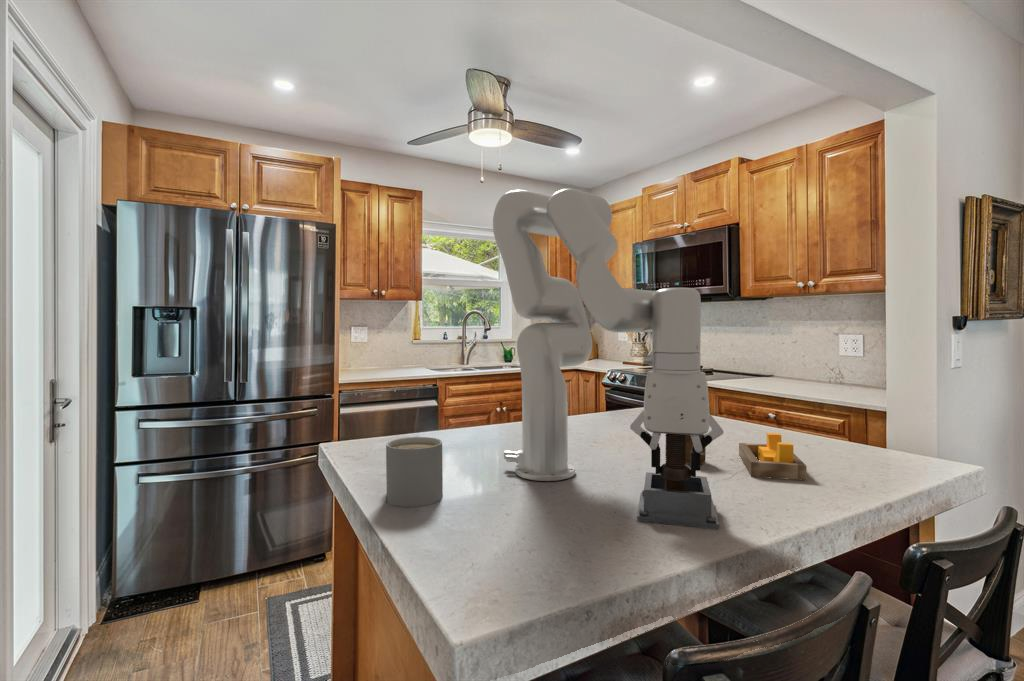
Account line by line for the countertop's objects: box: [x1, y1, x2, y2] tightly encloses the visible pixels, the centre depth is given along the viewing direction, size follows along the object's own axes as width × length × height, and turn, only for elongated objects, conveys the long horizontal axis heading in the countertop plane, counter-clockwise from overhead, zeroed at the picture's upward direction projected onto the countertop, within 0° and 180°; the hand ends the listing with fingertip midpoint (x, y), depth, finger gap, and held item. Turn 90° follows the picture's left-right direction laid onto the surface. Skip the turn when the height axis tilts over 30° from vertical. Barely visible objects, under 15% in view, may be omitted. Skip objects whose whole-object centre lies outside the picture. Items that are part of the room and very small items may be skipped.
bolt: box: [660, 413, 691, 491], centre depth 83 cm, size 6×5×15 cm
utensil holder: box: [685, 434, 707, 466], centre depth 115 cm, size 6×6×12 cm
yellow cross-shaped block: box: [757, 432, 794, 463], centre depth 110 cm, size 12×4×6 cm, turn 165°
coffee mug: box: [385, 436, 444, 508], centre depth 93 cm, size 13×10×10 cm
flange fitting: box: [636, 471, 720, 530], centre depth 87 cm, size 12×18×5 cm, turn 163°
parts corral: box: [738, 442, 807, 481], centre depth 110 cm, size 10×18×3 cm, turn 163°
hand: (675, 472), depth 83 cm, fingers closed on bolt, 4 cm apart
